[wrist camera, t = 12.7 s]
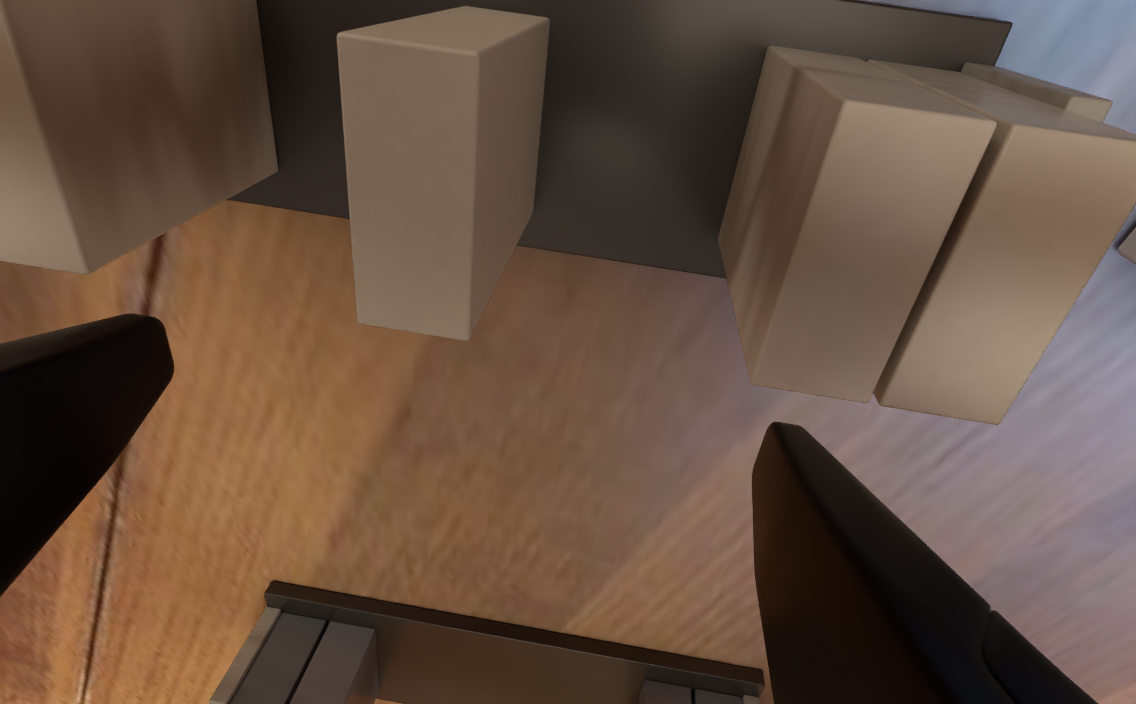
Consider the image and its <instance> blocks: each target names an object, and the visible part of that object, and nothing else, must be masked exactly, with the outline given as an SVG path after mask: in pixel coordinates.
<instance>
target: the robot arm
mask: <svg viewBox="0 0 1136 704" xmlns="http://www.w3.org/2000/svg"><path fill="white" fill-rule="evenodd" d="M173 373H174V362H173V358H172V354H171V350H170V346H169V342H168V338H167V335H166V331H165V327H164V325H163V324H162V322H161V321H160V320H159V319H157V318H155V317H150V316H144V315H138V314H123V315H119V316H115V317H111V318H107V319H103V320H98V321H94V322H90V323H86V324H82V325H77V326H73V327H69V328H65V329H61V330H56V331H52V332H48V333H44V334H40V335H35V336H31V337H27V338H23V339H19V340H15V341H10V342H6V343H2V344H0V597H1V596H2V594H3V593H4V592H5V591H6V590H7V589H8V587H9V586H10V585H11V584H12V583H13V582H14V580H15V579H16V578H17V577H18V576H19V574H20V573H21V572H22V571H23V570H24V569H25V567H26V566H27V565H28V564H29V563H30V561H31V560H32V559H33V558H34V557H35V556H36V554H37V553H38V552H39V551H40V550H41V549H42V547H43V546H44V545H45V544H46V543H47V541H48V540H49V539H50V538H51V537H52V536H53V534H54V533H55V532H56V531H57V530H58V528H59V527H60V526H61V525H62V524H63V523H64V521H65V520H66V519H67V518H68V517H69V516H70V514H71V513H72V512H73V511H74V510H75V508H76V507H77V506H78V505H79V504H80V503H81V501H82V500H83V499H84V498H85V497H86V495H87V494H88V493H89V492H90V491H91V490H92V488H93V487H94V486H95V485H96V484H97V483H98V481H99V480H100V479H101V478H102V477H103V475H104V474H105V473H106V472H107V471H108V469H109V468H110V467H111V466H112V464H113V463H114V462H115V461H116V459H117V458H118V456H119V455H120V454H121V452H122V451H123V450H124V448H125V447H126V445H127V444H128V442H129V441H130V439H131V438H132V437H133V435H134V434H135V432H136V431H137V429H138V428H139V426H140V425H141V423H142V422H143V421H144V419H145V418H146V416H147V415H148V413H149V412H150V410H151V409H152V407H153V406H154V405H155V403H156V402H157V400H158V399H159V397H160V396H161V394H162V393H163V391H164V390H165V389H166V387H167V386H168V384H169V383H170V381H171V379H172V377H173ZM752 504H753V538H754V566H755V580H756V588H757V595H758V602H759V608H760V615H761V621H762V628H763V634H764V641H765V647H766V654H767V660H768V667H769V673H770V680H771V686H772V693H773V699H774V704H1098V703H1097V702H1096V701H1095V700H1094V699H1092V698H1091V697H1090V696H1089V695H1088V694H1087V693H1085V692H1084V691H1083V690H1082V689H1081V688H1080V687H1078V686H1077V685H1076V684H1075V683H1074V682H1073V681H1072V680H1070V679H1069V678H1068V677H1067V676H1066V675H1065V674H1064V673H1063V672H1061V671H1060V670H1059V669H1058V668H1057V667H1056V666H1055V665H1054V664H1053V663H1052V662H1051V661H1049V660H1048V659H1047V658H1046V657H1045V656H1044V655H1043V654H1042V653H1041V652H1040V651H1039V650H1038V649H1036V648H1035V647H1034V646H1033V645H1032V644H1031V643H1030V642H1029V641H1028V640H1027V639H1026V638H1024V637H1023V636H1022V635H1021V634H1020V633H1019V632H1018V631H1017V630H1016V629H1015V628H1014V627H1013V626H1012V625H1011V624H1010V623H1009V622H1008V621H1007V620H1005V619H1004V618H1003V617H1002V616H1001V615H1000V614H999V613H998V612H997V611H995V610H992V611H990V609H991V607H990V605H989V604H988V603H987V602H986V601H985V600H984V599H983V598H982V597H981V596H980V595H979V594H978V593H977V592H976V591H975V590H974V589H973V588H971V587H970V586H969V585H968V584H967V583H966V582H965V581H964V580H963V579H962V578H961V577H960V576H959V575H958V574H957V573H956V572H955V571H954V570H953V569H951V568H950V567H949V566H948V565H947V564H946V563H945V562H944V561H943V560H942V559H941V558H940V557H939V556H938V555H937V554H936V553H935V552H934V551H933V550H931V549H930V548H929V547H928V546H927V545H926V544H925V543H924V542H923V541H922V540H921V539H920V538H919V537H918V536H917V535H916V534H915V533H914V532H912V531H911V530H910V529H909V528H908V527H907V526H906V525H905V524H904V523H903V522H902V521H901V520H900V519H899V518H898V517H897V516H896V515H895V514H894V513H892V512H891V511H890V510H889V509H888V508H887V507H886V506H885V505H884V504H883V503H882V502H881V501H880V500H879V499H878V498H877V497H876V496H875V495H874V494H872V493H871V492H870V491H869V490H868V489H867V488H866V487H865V486H864V485H863V484H862V483H861V482H860V481H859V480H858V479H857V478H856V477H855V476H853V475H852V474H851V473H850V472H849V471H848V470H847V469H846V468H845V467H844V466H843V465H842V464H841V463H840V462H839V461H838V460H837V459H836V458H835V457H833V456H832V455H831V454H830V453H829V452H828V451H827V450H826V449H825V448H824V447H823V446H822V445H821V444H820V443H819V442H818V441H817V440H816V439H814V438H813V437H812V436H811V435H810V434H809V433H808V432H807V431H806V430H805V429H804V428H803V427H801V426H799V425H793V424H787V423H781V422H773V423H771V424H770V425H769V427H768V428H767V431H766V433H765V436H764V439H763V442H762V444H761V447H760V450H759V453H758V456H757V458H756V461H755V464H754V468H753V473H752Z"/></svg>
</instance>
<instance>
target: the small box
mask: <svg viewBox="0 0 1136 704" xmlns="http://www.w3.org/2000/svg"><path fill="white" fill-rule="evenodd" d="M1118 251H1119V253H1120V254H1121V255H1122V256H1124V257H1125V258H1127V259H1128V260H1130V261H1132V262H1133V263H1135V264H1136V228H1135V229H1134V230H1133V231H1132V232H1131V233H1130V235H1129V236H1128V237H1127V238H1126V239H1125V241H1124V242H1123V243H1122V244H1121V245H1120V246H1119V249H1118Z"/></svg>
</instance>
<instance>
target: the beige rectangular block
mask: <svg viewBox="0 0 1136 704" xmlns="http://www.w3.org/2000/svg"><path fill="white" fill-rule="evenodd" d="M549 28H550V20H549V18H547V17H540V16H533V15H526V14H519V13H512V12H505V11H498V10H491V9H484V8H477V7H470V6H463V7H458V8H453V9H448V10H444V11H439V12H434V13H429V14H424V15H420V16H415V17H410V18H405V19H401V20H396V21H391V22H386V23H381V24H377V25H372V26H367V27H362V28H358V29H353V30H348V31H343V32H340V33H338V34H337V49H338V63H339V76H340V90H341V104H342V118H343V131H344V145H345V159H346V172H347V186H348V200H349V214H350V227H351V241H352V255H353V268H354V282H355V296H356V310H357V321H358V323H360V324H365V325H371V326H377V327H383V328H389V329H395V330H401V331H407V332H413V333H419V334H426V335H432V336H438V337H444V338H450V339H456V340H462V341H468V340H469V338H470V337H471V335H472V333H473V331H474V329H475V327H476V325H477V323H478V321H479V319H480V317H481V315H482V313H483V311H484V309H485V307H486V305H487V303H488V301H489V299H490V297H491V295H492V293H493V291H494V289H495V287H496V285H497V283H498V281H499V279H500V277H501V275H502V273H503V271H504V269H505V267H506V265H507V263H508V261H509V259H510V257H511V255H512V253H513V251H514V249H515V247H516V245H517V243H518V241H519V239H520V237H521V235H522V233H523V231H524V229H525V227H526V225H527V223H528V221H529V219H530V217H531V215H532V213H533V207H534V196H535V185H536V173H537V162H538V151H539V140H540V129H541V117H542V106H543V95H544V84H545V73H546V62H547V50H548V39H549Z"/></svg>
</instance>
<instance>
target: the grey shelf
mask: <svg viewBox="0 0 1136 704" xmlns="http://www.w3.org/2000/svg"><path fill="white" fill-rule="evenodd" d="M264 595H265V599H266V604H267V607H266V608H265V610H264V612H263V613H262V615H261V617H260V618H259V620H258V622H257V623H256V625H255V626H254V628H253V630H252V631H251V633H250V635H249V636H248V638H247V640H246V641H245V643H244V645H243V646H242V648H241V649H240V651H239V653H238V654H237V656H236V658H235V659H234V661H233V663H232V664H231V666H230V667H229V669H228V671H227V672H226V674H225V676H224V677H223V679H222V681H221V682H220V684H219V686H218V687H217V689H216V690H215V692H214V694H213V695H212V697H211V699H210V700H209V703H210V704H374V702H375V700H376V699H381V700H387V701H392V702H397V703H403V704H760V699H759V696H760V694H761V692H762V690H763V688H764V686H765V683H764V676H763V671H762V670H756V669H751V668H745V667H740V666H734V665H729V664H723V663H718V662H712V661H707V660H702V659H696V658H691V657H685V656H680V655H674V654H669V653H663V652H658V651H652V650H647V649H641V648H636V647H630V646H625V645H619V644H614V643H608V642H603V641H597V640H592V639H586V638H581V637H575V636H570V635H564V634H559V633H553V632H548V631H543V630H537V629H532V628H526V627H521V626H515V625H510V624H504V623H499V622H493V621H488V620H482V619H477V618H471V617H466V616H460V615H455V614H449V613H444V612H438V611H433V610H427V609H422V608H416V607H411V606H405V605H400V604H394V603H389V602H384V601H378V600H373V599H367V598H362V597H356V596H351V595H345V594H340V593H334V592H329V591H323V590H318V589H312V588H307V587H301V586H296V585H290V584H285V583H279V582H274V581H272V582H271V584H270V585H269V587H268V588H267V590H266V592H265V593H264Z"/></svg>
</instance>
